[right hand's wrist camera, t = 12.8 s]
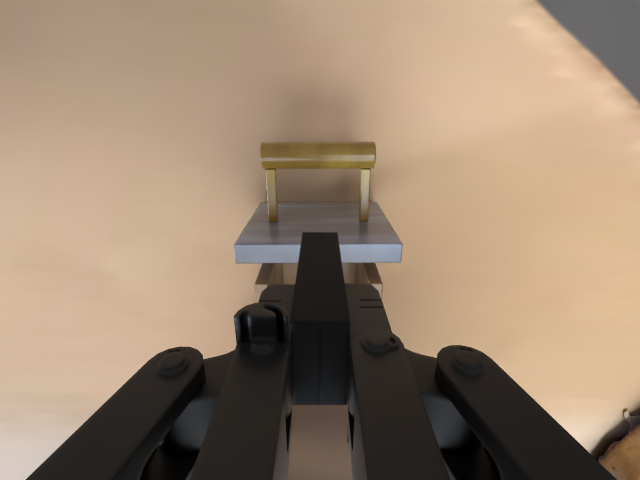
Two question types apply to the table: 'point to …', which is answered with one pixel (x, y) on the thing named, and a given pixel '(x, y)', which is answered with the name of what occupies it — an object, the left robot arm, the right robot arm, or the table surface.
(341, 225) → the drawer
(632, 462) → the bread
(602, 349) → the table surface
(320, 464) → the cabinet
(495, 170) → the table surface
